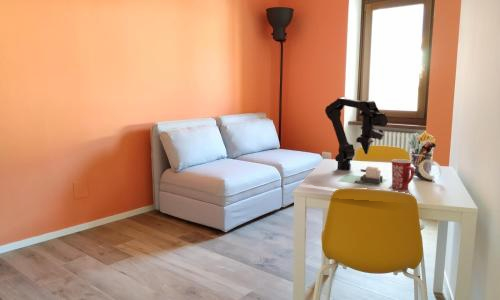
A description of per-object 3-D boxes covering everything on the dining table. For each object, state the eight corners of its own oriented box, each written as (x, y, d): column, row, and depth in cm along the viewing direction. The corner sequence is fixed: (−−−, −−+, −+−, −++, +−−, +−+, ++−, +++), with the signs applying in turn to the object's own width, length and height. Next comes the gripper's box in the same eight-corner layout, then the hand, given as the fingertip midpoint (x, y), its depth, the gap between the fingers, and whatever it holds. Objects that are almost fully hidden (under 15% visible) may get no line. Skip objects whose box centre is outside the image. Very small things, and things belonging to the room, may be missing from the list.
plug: (359, 180, 205) (360, 167, 204) (361, 179, 208) (362, 165, 207) (378, 183, 201) (379, 169, 199) (380, 181, 203) (381, 168, 202)
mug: (386, 186, 200) (387, 159, 198) (401, 184, 203) (403, 158, 201) (402, 193, 189) (404, 164, 186) (419, 191, 191) (421, 163, 189)
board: (337, 183, 205) (337, 179, 205) (347, 177, 219) (347, 173, 218) (379, 189, 195) (379, 185, 194) (387, 182, 208) (387, 177, 208)
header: (360, 181, 203) (360, 177, 203) (364, 178, 210) (364, 173, 209) (378, 184, 199) (378, 179, 198) (382, 180, 205) (382, 176, 204)
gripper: (378, 127, 203) (377, 158, 205) (387, 123, 218) (385, 152, 221) (356, 126, 208) (355, 156, 211) (366, 122, 224) (365, 150, 227)
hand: (366, 153), depth 217 cm, fingers closed
